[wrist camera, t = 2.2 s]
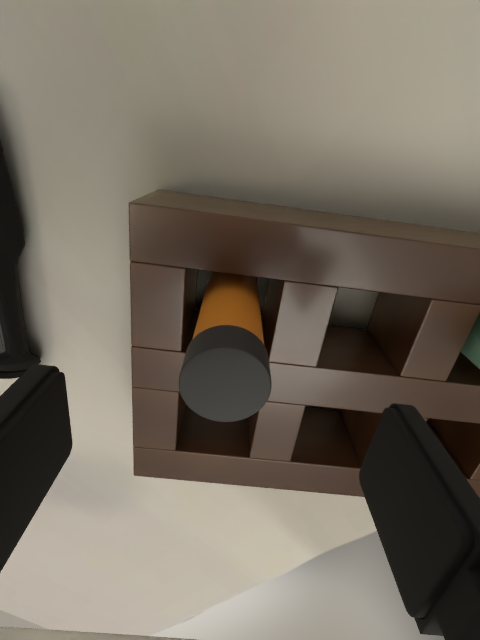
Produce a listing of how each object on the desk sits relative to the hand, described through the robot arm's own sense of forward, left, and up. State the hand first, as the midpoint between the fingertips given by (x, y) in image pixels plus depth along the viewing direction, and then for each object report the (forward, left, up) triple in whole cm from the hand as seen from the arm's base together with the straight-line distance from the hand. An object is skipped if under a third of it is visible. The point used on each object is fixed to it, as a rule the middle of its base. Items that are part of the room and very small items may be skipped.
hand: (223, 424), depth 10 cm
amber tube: (0, 0, -11) cm, 11 cm away
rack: (+3, +7, -11) cm, 13 cm away
